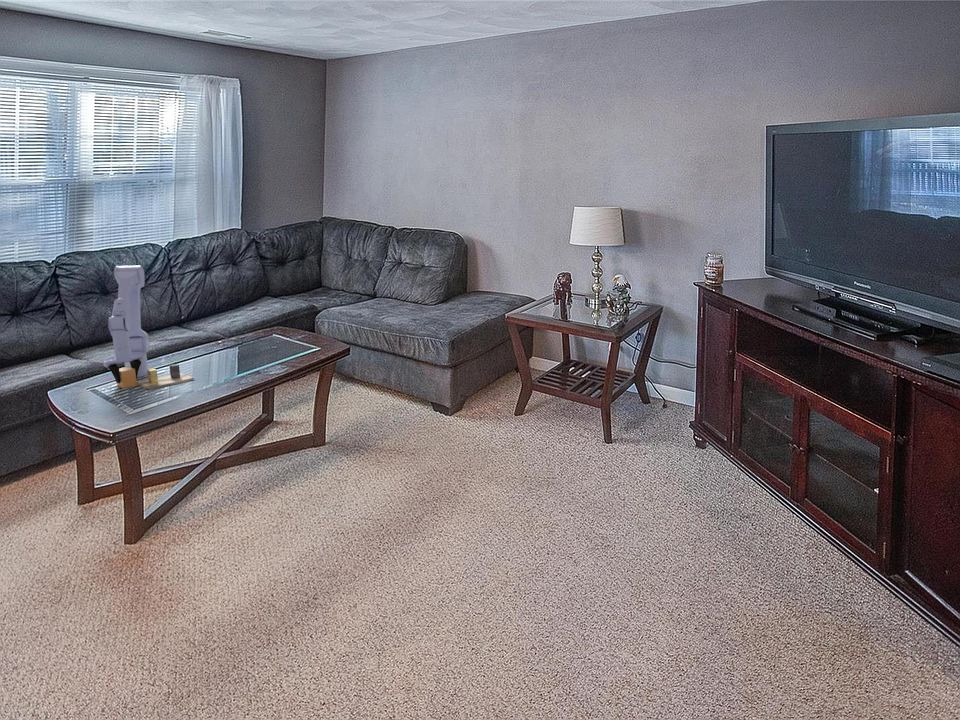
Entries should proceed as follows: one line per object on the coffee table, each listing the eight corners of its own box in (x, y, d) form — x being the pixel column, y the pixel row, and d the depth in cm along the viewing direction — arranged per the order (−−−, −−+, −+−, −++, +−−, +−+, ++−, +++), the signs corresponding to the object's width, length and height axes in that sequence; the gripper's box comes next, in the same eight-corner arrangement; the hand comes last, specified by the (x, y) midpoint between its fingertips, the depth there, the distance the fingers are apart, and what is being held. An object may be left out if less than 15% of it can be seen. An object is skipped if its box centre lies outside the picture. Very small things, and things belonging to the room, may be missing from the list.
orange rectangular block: (117, 385, 285) (115, 369, 283) (131, 382, 289) (128, 366, 287) (123, 388, 282) (121, 371, 280) (137, 385, 285) (134, 368, 284)
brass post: (148, 382, 286) (146, 370, 285) (155, 380, 288) (153, 368, 287) (151, 383, 285) (150, 371, 283) (158, 382, 287) (156, 369, 285)
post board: (135, 383, 287) (133, 369, 286) (179, 373, 300) (177, 360, 299) (149, 390, 280) (147, 375, 278) (194, 379, 293) (192, 365, 291)
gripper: (107, 352, 273) (111, 387, 277) (145, 344, 284) (150, 378, 287) (99, 348, 278) (103, 383, 281) (137, 341, 288) (141, 375, 292)
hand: (126, 380), depth 285 cm, fingers open, 6 cm apart
